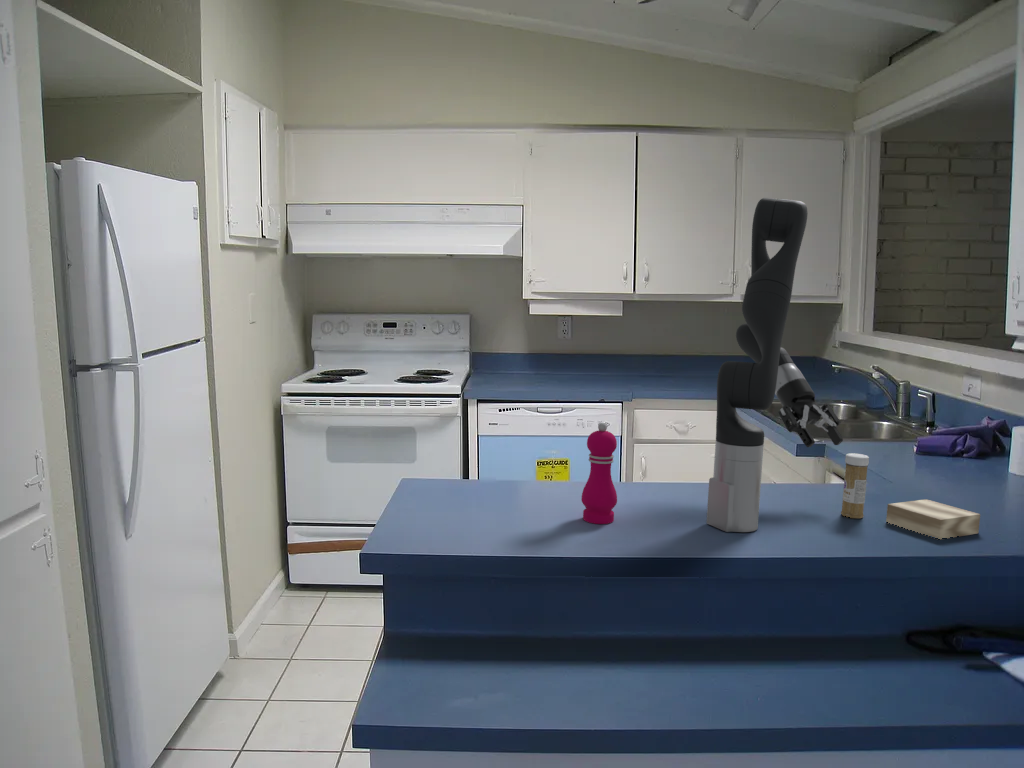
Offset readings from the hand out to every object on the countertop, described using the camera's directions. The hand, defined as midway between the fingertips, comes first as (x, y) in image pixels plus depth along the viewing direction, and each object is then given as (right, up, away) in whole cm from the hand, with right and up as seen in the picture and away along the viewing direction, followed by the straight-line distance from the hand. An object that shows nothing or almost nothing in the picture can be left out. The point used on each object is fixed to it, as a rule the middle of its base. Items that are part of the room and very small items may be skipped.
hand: (825, 444), depth 171 cm
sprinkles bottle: (+3, -15, -6) cm, 17 cm away
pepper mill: (-52, -14, -15) cm, 56 cm away
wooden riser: (+16, -16, -13) cm, 27 cm away
